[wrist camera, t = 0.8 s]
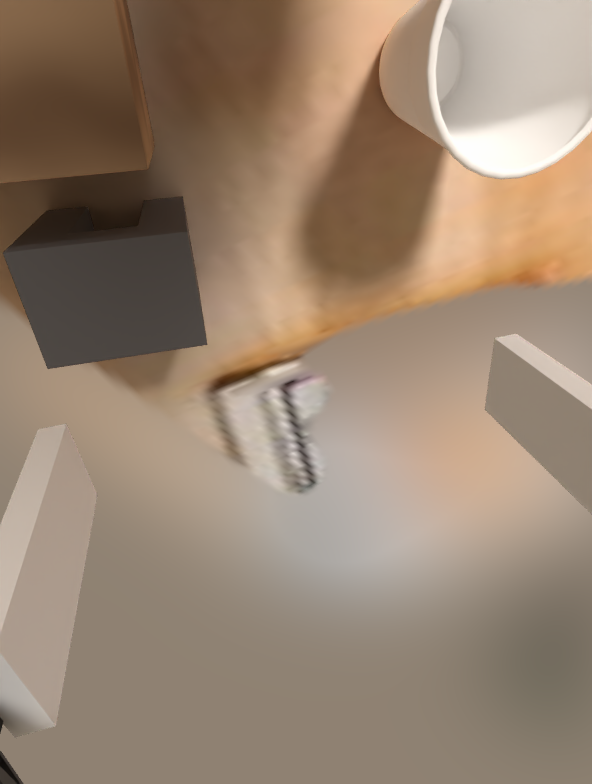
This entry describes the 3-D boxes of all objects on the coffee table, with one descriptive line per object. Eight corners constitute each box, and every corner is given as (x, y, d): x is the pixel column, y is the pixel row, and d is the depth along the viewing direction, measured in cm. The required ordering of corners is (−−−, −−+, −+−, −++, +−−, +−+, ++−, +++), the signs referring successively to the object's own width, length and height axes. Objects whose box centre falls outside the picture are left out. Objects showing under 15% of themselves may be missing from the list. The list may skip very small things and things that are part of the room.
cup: (384, 185, 33) (467, 220, 24) (318, 27, 28) (392, -7, 19) (513, 101, 32) (650, 104, 23) (471, -80, 27) (628, -170, 18)
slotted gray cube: (46, 210, 29) (2, 252, 22) (182, 196, 31) (187, 231, 23) (76, 303, 33) (47, 368, 25) (198, 287, 34) (207, 344, 26)
